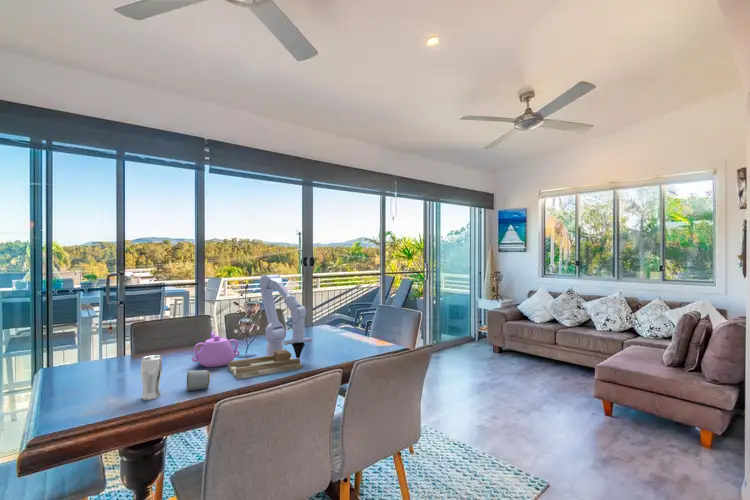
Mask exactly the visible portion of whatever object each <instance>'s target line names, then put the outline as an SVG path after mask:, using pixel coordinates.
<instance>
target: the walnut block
mask: <svg viewBox="0 0 750 500" xmlns="http://www.w3.org/2000/svg"><path fill="white" fill-rule="evenodd" d="M290 353H291V352H290V351H288V349H283V350H278V351H274V359H273V361H274V362H278V361H284V360H290Z"/></svg>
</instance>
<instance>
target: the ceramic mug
mask: <svg viewBox="0 0 750 500" xmlns="http://www.w3.org/2000/svg"><path fill="white" fill-rule="evenodd" d="M210 376H211V375H210V371H209V370H207V369H206V370H205V369H203V370H202V369H200V370H187V375H186V391H187V392H190V391H198V390H199V391H200V390H205V389H208V387H210V378H211V377H210Z"/></svg>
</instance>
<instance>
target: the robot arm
mask: <svg viewBox="0 0 750 500" xmlns="http://www.w3.org/2000/svg"><path fill="white" fill-rule="evenodd" d="M258 282H259V286H260V295H261V299H262V301H263V302H262V303H263V307H264V310H265V315H266V319H267V326H266V327H265V328H264V331H265V339H266V341H267V343H266V355H265V356H271V355H274V351H278V350H284V349H283V348H284V346H287V345H291V346H292V348H293V351H294V355H295V359H297V358H299V359H301V355H302V352H303V349H304V348H305V345H306V344H305V343H309V342H310V343H312V342H313V337H312V336H311V337H305V318H306V316H307V314H308V310H307V307H306V306H305V305H302V304H301V303H300V302H299V301H298V300H297V298H296V296H295V295H293V294H291V293H290V292H289V291H288V289H287V288H286V286H285V285H284V283H283V278H282V277H281V276H280V274H278V273H274V274H263V275H261V277H260V278H259V280H258ZM275 290H276V291H277V292H278V293H279V294H280V296H281V297H282V298H283V303H284V304H285V306H286V307H287V308H288V310H289V311H290V313H289V315H290V318H291V321H292V338H291V339H286V337H287V331H286V328H285V327H284V324H283V323H282V322H280V321H279V316H278V312H277V309H276V304H275V300H274V297H273V292H274V291H275ZM285 339H286V340H285Z"/></svg>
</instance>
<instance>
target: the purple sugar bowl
mask: <svg viewBox="0 0 750 500" xmlns="http://www.w3.org/2000/svg"><path fill="white" fill-rule="evenodd" d="M231 342H235V347H234V346H233V345H232V343H231ZM198 346H201V347H200V349H199V351H197V350H198V349H197V348H198ZM238 346H239V343H238V340H237V339H235V338H232V339H228V338H226V337H222V336H221V335H218V334H217V335H216V332H214V331H211V332H210V338H209V339H208V338H207V339H206V340H205V341H204V342H201V341H200V342H198V343H195V345H194V347H193V351H194V355H193V356H192V358H191V361H192V362H193V363H194V362H196V363H197V362H198V363H199V364H200V365H201V366H202V367H206V368H215V367H216V368H218V367H223V366H228V365H229V361H234V359H235V357H239V355H240V351H239V350H237V349H238Z"/></svg>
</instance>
